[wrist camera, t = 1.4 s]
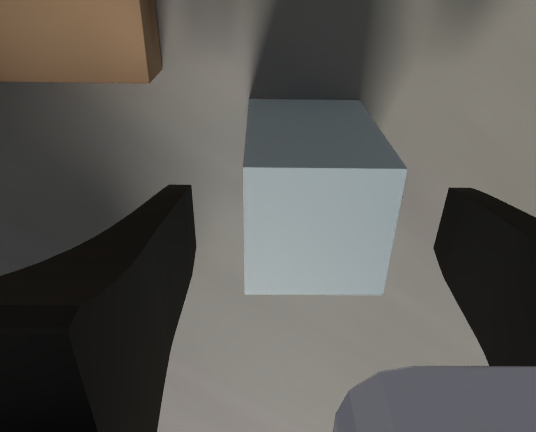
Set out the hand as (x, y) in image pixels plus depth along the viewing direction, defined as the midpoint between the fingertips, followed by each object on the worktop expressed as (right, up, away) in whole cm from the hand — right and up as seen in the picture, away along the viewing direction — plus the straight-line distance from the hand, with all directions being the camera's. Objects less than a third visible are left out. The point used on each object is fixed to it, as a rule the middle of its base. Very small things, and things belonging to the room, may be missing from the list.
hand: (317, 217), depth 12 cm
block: (0, +3, +4) cm, 5 cm away
